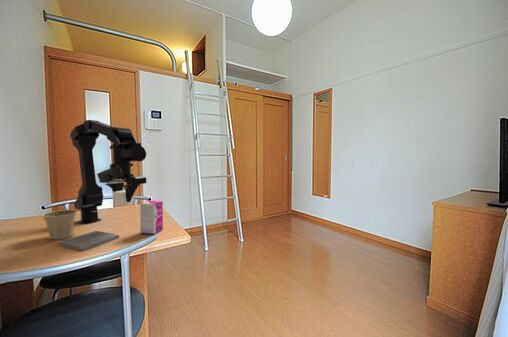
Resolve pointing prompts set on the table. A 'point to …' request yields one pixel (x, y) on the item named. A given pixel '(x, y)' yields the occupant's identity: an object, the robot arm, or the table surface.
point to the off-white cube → (121, 198)
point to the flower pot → (60, 223)
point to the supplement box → (151, 217)
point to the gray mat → (88, 240)
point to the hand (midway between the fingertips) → (123, 201)
